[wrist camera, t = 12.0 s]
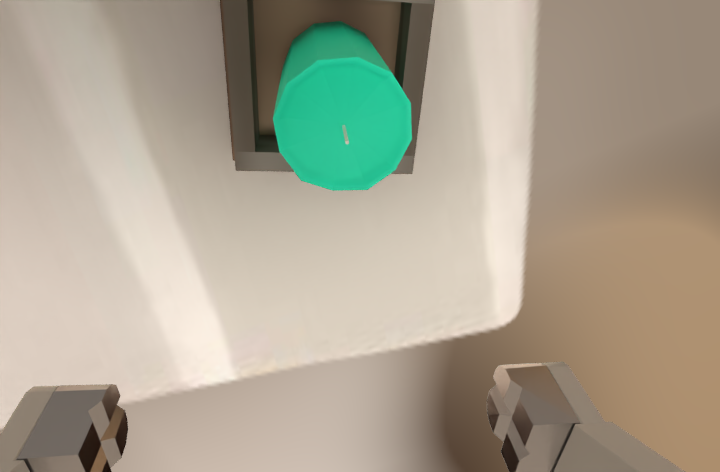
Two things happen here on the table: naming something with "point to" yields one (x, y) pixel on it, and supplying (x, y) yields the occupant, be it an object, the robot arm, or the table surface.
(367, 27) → the holder
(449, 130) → the table surface
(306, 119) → the candle
